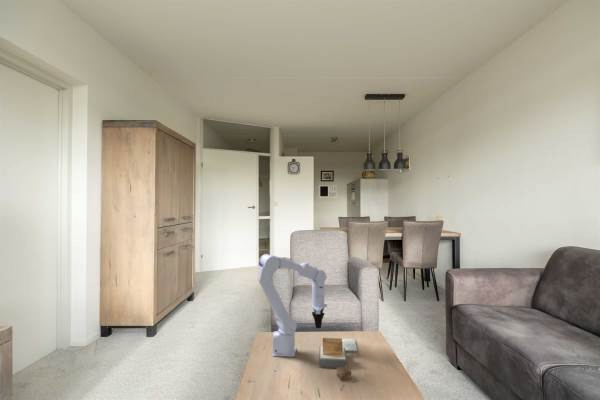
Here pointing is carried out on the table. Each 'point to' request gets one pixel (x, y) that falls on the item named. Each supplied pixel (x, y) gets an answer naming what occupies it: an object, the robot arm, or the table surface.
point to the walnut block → (344, 373)
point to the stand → (332, 359)
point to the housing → (332, 346)
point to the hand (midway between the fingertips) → (318, 324)
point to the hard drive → (349, 345)
